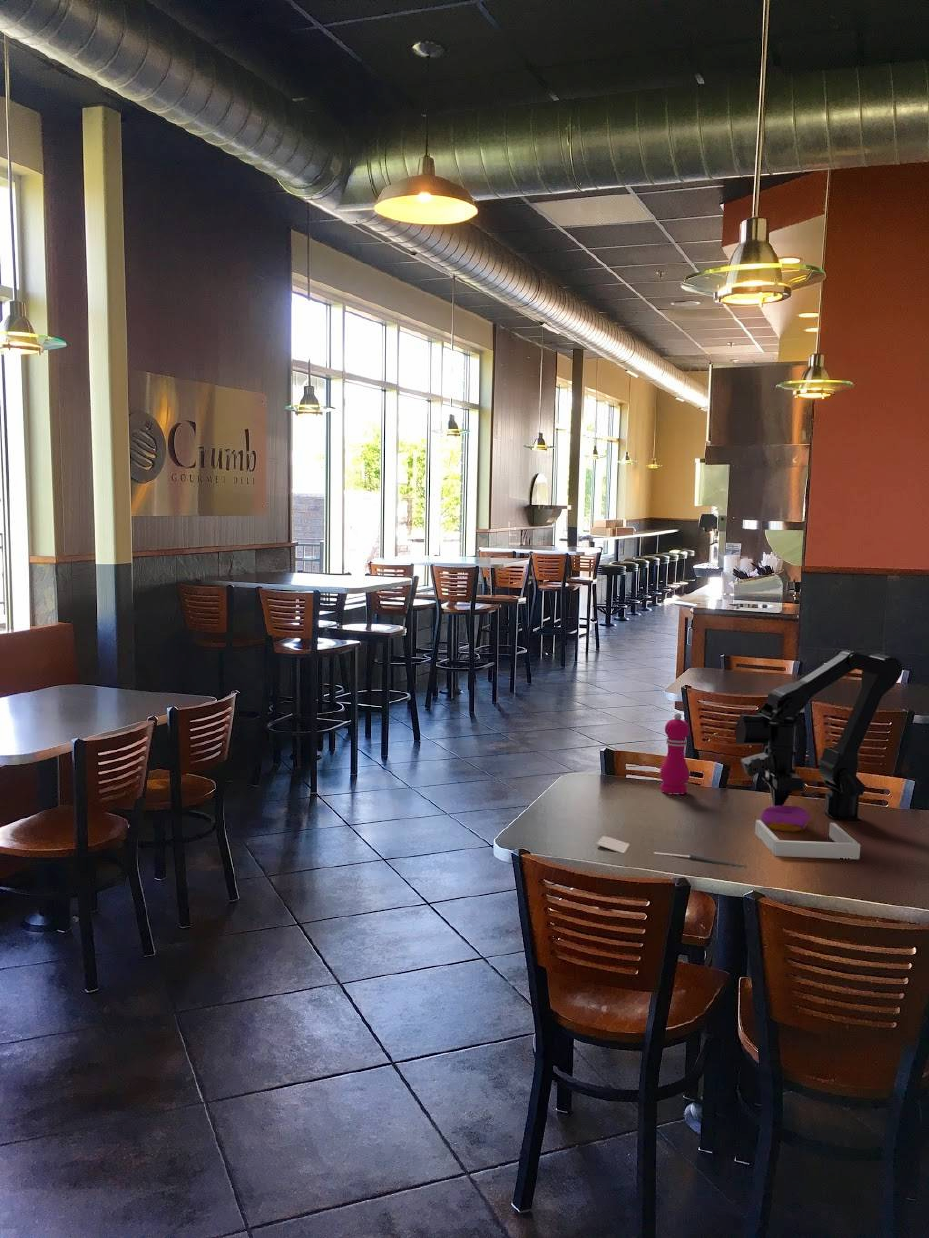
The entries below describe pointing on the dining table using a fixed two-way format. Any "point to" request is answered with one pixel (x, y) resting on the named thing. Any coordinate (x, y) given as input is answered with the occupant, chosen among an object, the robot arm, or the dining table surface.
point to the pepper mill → (675, 757)
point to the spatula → (622, 847)
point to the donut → (785, 818)
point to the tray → (811, 844)
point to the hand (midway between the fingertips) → (776, 810)
